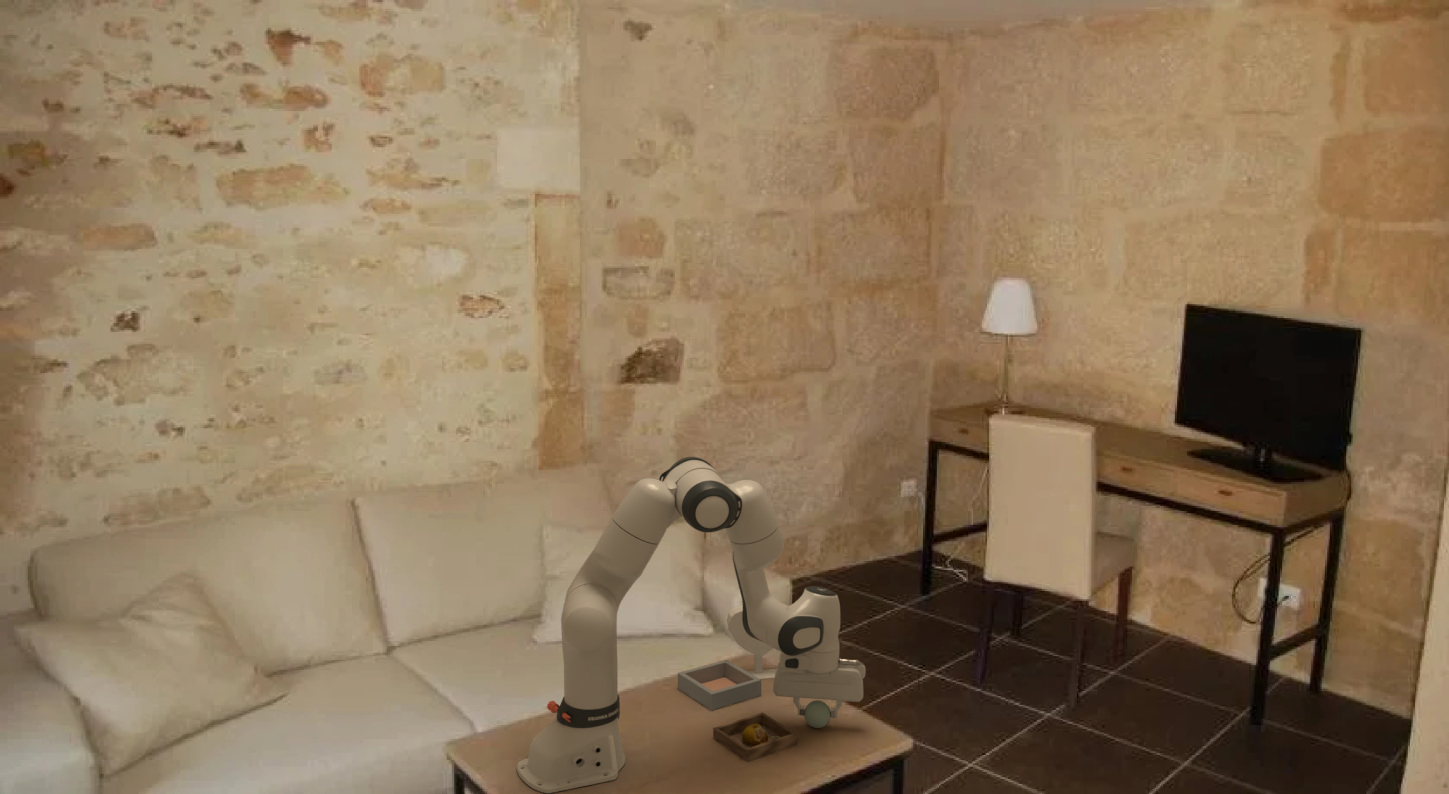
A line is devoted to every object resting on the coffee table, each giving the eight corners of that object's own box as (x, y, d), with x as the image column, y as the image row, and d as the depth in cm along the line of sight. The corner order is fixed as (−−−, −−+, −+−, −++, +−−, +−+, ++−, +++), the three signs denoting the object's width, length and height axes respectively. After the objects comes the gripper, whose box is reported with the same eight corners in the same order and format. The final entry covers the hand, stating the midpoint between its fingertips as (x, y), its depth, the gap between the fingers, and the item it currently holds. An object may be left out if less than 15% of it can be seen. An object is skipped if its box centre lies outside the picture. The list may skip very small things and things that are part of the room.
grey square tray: (711, 710, 260) (711, 694, 260) (677, 688, 272) (677, 673, 271) (761, 695, 269) (761, 680, 268) (726, 675, 280) (726, 659, 279)
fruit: (771, 755, 240) (772, 739, 240) (735, 748, 243) (735, 732, 243) (783, 738, 248) (784, 722, 247) (748, 731, 251) (748, 716, 250)
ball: (815, 735, 249) (816, 709, 248) (798, 724, 254) (798, 700, 253) (835, 728, 252) (836, 703, 251) (818, 718, 257) (819, 693, 256)
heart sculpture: (785, 668, 285) (787, 600, 282) (790, 676, 280) (792, 607, 277) (725, 672, 281) (726, 604, 278) (729, 681, 277) (730, 611, 274)
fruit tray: (747, 761, 237) (747, 750, 236) (713, 738, 247) (713, 728, 246) (797, 744, 244) (797, 734, 244) (762, 722, 255) (762, 712, 254)
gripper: (866, 655, 252) (863, 712, 254) (775, 649, 255) (773, 706, 257) (866, 666, 246) (863, 725, 248) (773, 660, 248) (771, 718, 251)
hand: (817, 715), depth 253 cm, fingers closed on ball, 6 cm apart
